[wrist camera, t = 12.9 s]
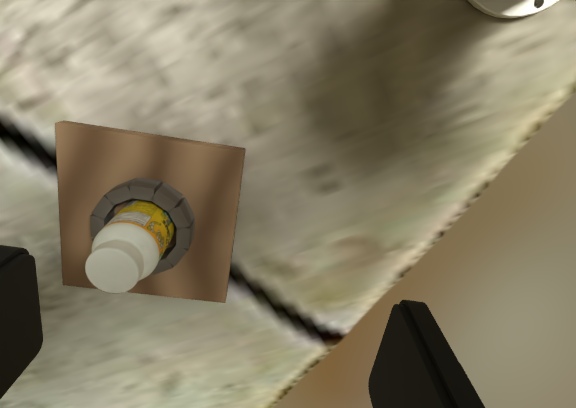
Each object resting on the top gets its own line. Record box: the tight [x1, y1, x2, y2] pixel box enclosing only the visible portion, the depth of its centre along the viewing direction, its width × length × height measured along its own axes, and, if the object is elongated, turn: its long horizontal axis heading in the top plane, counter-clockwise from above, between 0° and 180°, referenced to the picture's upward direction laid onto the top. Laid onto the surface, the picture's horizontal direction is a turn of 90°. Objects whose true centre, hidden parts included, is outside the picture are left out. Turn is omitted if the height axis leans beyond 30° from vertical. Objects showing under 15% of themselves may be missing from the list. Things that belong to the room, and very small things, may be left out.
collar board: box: [55, 121, 245, 303], centre depth 37 cm, size 17×17×4 cm
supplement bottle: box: [85, 199, 176, 293], centre depth 32 cm, size 5×5×10 cm
